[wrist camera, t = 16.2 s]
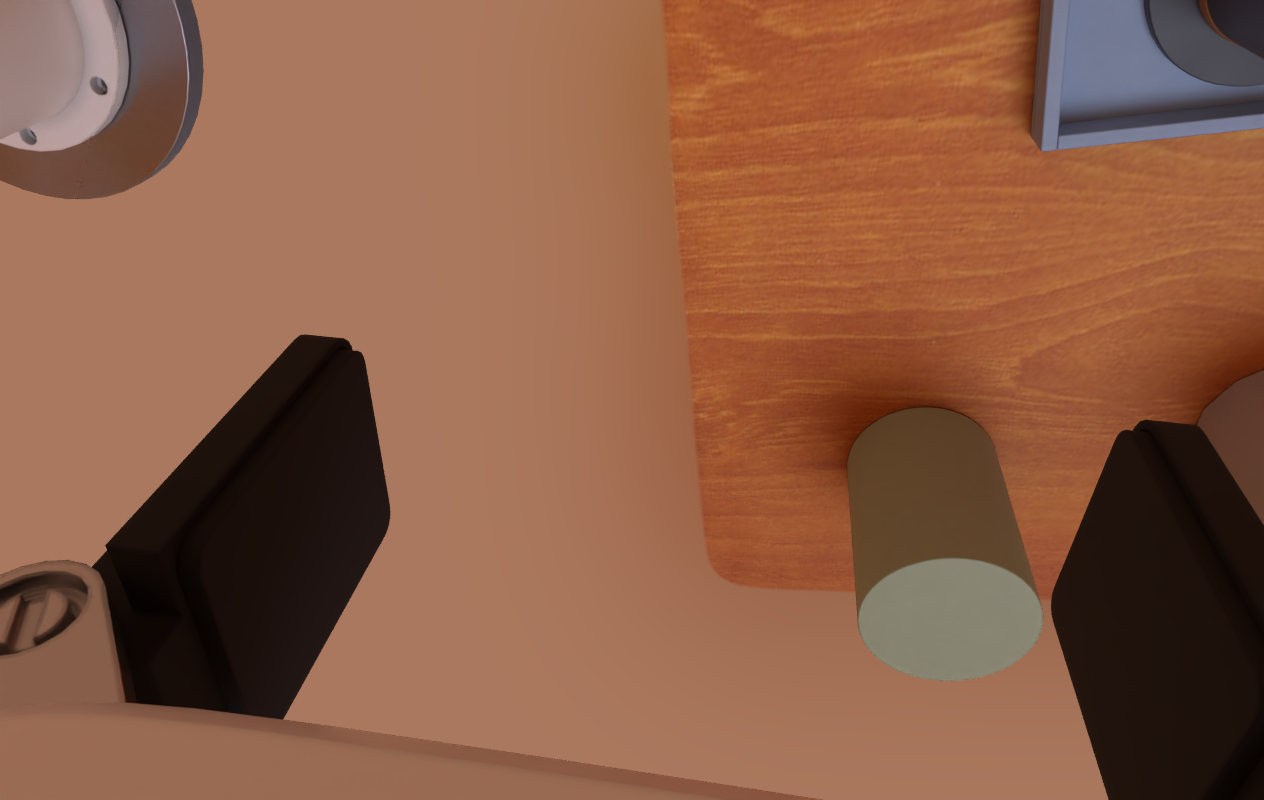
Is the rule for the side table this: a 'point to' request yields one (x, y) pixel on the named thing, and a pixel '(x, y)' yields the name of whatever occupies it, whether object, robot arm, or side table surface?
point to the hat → (1211, 38)
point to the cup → (1240, 435)
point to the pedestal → (938, 549)
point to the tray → (1122, 82)
